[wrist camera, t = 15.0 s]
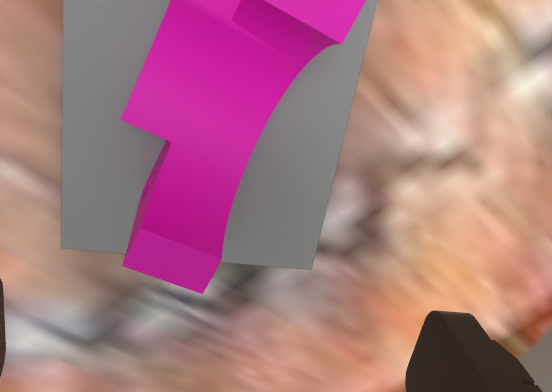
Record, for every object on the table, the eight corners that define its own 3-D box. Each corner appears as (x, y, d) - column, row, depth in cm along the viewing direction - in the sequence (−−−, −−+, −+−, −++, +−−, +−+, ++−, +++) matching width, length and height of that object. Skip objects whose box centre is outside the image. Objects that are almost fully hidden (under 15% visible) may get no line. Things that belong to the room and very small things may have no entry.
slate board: (65, 239, 31) (61, 248, 30) (70, -183, 22) (64, -188, 21) (308, 261, 33) (311, 269, 32) (396, -107, 25) (404, -109, 24)
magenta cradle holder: (216, -104, 23) (221, -125, 16) (333, -32, 25) (380, -26, 18) (98, 174, 28) (64, 245, 21) (203, 216, 30) (202, 294, 23)
